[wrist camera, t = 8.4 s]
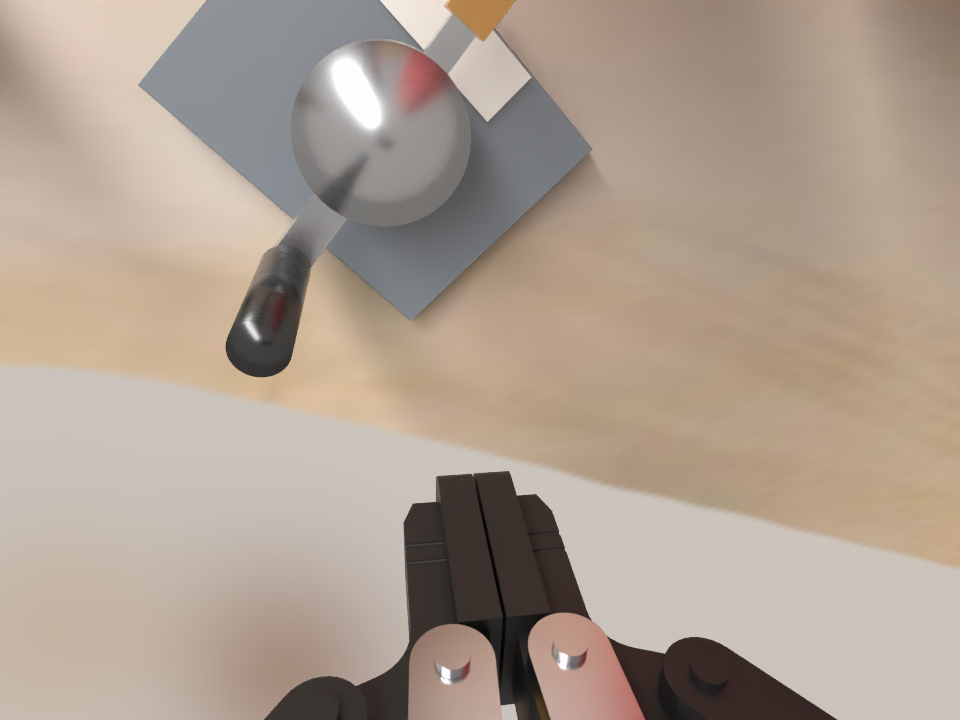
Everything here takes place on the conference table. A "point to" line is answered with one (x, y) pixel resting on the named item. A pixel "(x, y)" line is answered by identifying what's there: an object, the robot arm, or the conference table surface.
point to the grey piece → (362, 163)
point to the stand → (268, 110)
